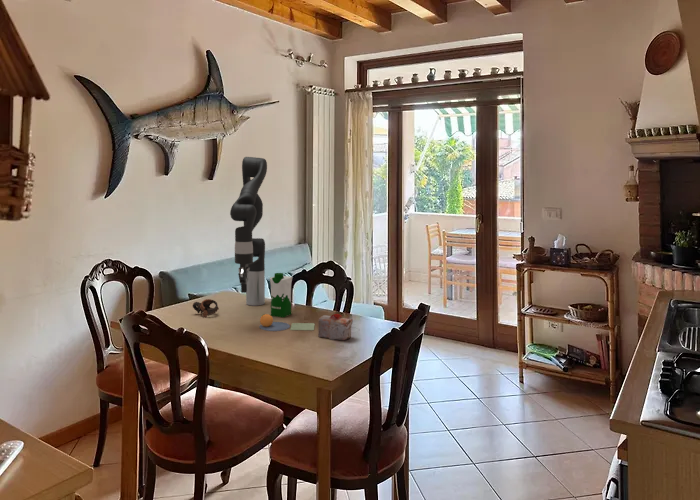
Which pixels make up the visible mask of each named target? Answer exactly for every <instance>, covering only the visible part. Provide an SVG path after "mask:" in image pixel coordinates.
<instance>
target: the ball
mask: <svg viewBox="0 0 700 500" xmlns="http://www.w3.org/2000/svg"><path fill="white" fill-rule="evenodd" d="M259 322H260V325H262V326H264V327H269V326H271V325H272V323H273V322H274V318H273V316H271V314H270V313H265V314H263V315H261V316H260V319H259Z"/></svg>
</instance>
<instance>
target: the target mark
mask: <svg viewBox="0 0 700 500" xmlns="http://www.w3.org/2000/svg"><path fill="white" fill-rule="evenodd" d="M258 327H259V329H261V330H262V331H268V332H280V331H285V330H288V329H290V328H291V325H290V324H289V323H286V322H282V321H273V323H272V325H271V326H269V327H264V326H262V325H261V324H259V326H258Z"/></svg>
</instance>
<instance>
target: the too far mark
mask: <svg viewBox="0 0 700 500" xmlns="http://www.w3.org/2000/svg"><path fill="white" fill-rule="evenodd" d="M315 325H316V324H315V323H314V322H291V325H290V328H289V330H290V331H315Z"/></svg>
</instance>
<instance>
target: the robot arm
mask: <svg viewBox="0 0 700 500" xmlns="http://www.w3.org/2000/svg"><path fill="white" fill-rule="evenodd" d="M241 162H242V163H241V173H242V175H241V176H242V188H241V190H240V193H239V195H238V197H237V199H236V201H235V202H233V204H232V206H231V208H230V212H229V215H230V218H231V219H232V220H233V221H235V222H243V226H242V225H241V226H238V227H236V228H235V231H234V239H235V240H234V242H235V243H234V263H235V264H236V265H237V264H238V265H239V267H238V274H237V275H238V278H239V284H240V292H241V293H246V294H245V295H246V296H245V297H246V299H245V304H246V305H248V306H254V307H256V306H262V305H265V303H266V302H265V301H266V296H265V294H266V293H265V292H266V290H265V289H266V287H265V286H266V284H265V283H266V279H265V276H266V275H265V274H266V272H265V270H266V269H265V267H266V266H265V265H266V264H265V258H266V257H265V256H266V243H265V242H266V241H265V239H264V238H259V237H258V238H256V237H255V238H253V231H254V230H255V228H256V227H257V225H258V224H259V223H260V222H261V219H262V217H263V216H264V215H263V213H264V212H263V207H264V205H263V204H264V203H263V200H262V199H261V197H260V195H259V194H258V192H259V190H260V188H261V186H262V184H263V182H264V180H265V177H266V175H267V172H268V162H267V160H266V159H265V158H262V157H256V156H255V157H254V156H245V157H243V158H242V161H241ZM256 257H258V258H257V259H256V260H254V258H256Z"/></svg>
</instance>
